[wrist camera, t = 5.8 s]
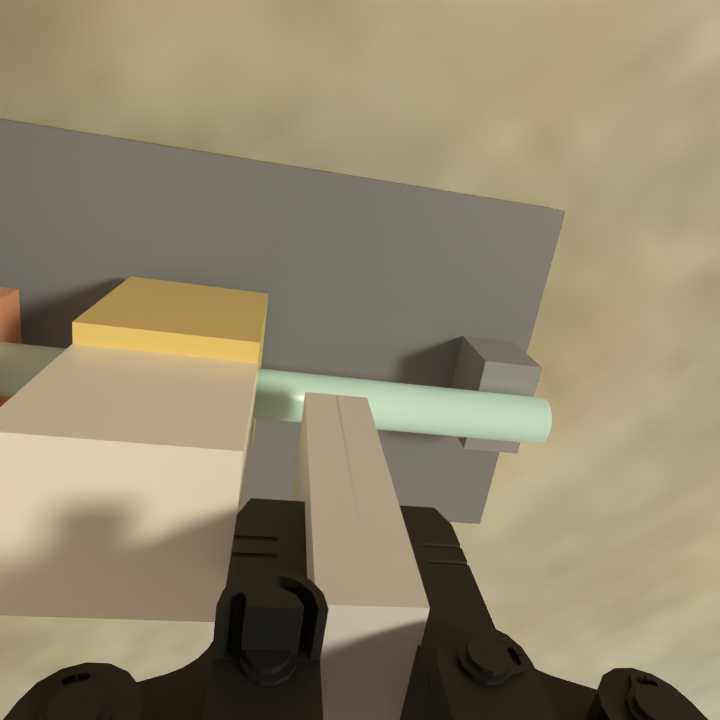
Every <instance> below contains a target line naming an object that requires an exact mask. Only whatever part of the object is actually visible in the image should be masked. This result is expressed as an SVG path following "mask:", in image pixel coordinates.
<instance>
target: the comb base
mask: <svg viewBox="0 0 720 720" xmlns="http://www.w3.org/2000/svg"><path fill="white" fill-rule="evenodd" d="M564 214H565V211H562V210H558V209H553V208H549V207H542V206H536V205H530V204H524V203H518V202H512V201H505V200H499V199H493V198H487V197H481V196H475V195H468V194H462V193H456V192H450V191H444V190H438V189H431V188H425V187H419V186H413V185H407V184H401V183H394V182H388V181H382V180H376V179H370V178H364V177H357V176H351V175H345V174H339V173H333V172H327V171H320V170H314V169H308V168H302V167H296V166H290V165H283V164H277V163H271V162H265V161H259V160H253V159H246V158H240V157H234V156H228V155H222V154H216V153H209V152H203V151H197V150H191V149H185V148H179V147H172V146H166V145H160V144H154V143H148V142H142V141H136V140H129V139H123V138H117V137H111V136H105V135H99V134H92V133H86V132H80V131H74V130H68V129H62V128H55V127H49V126H43V125H37V124H31V123H25V122H18V121H12V120H6V119H0V407H1V406H2V405H3V404H4V403H6V402H7V401H8V400H9V399H10V398H11V397H12V396H14V395H15V394H16V393H17V392H18V391H19V390H20V389H22V388H23V387H24V386H25V385H26V384H27V383H28V382H30V381H31V380H32V379H33V378H34V377H35V376H36V375H38V374H39V373H40V372H41V371H42V370H43V369H44V368H46V367H47V366H48V365H49V364H50V363H51V362H52V361H53V360H55V359H56V358H57V357H58V356H59V355H60V354H61V353H63V352H64V351H65V350H66V349H67V348H68V347H69V346H71V345H72V344H73V338H72V322H73V321H74V320H75V319H77V318H78V317H79V316H80V315H82V314H83V313H84V312H86V311H87V310H88V309H89V308H91V307H92V306H93V305H95V304H96V303H97V302H98V301H100V300H101V299H102V298H104V297H105V296H106V295H107V294H109V293H110V292H111V291H113V290H114V289H115V288H116V287H118V286H119V285H120V284H122V283H123V282H124V281H125V280H127V279H128V278H129V277H131V276H132V277H140V278H148V279H156V280H164V281H172V282H180V283H188V284H196V285H204V286H212V287H220V288H228V289H236V290H244V291H252V292H260V293H268V294H269V295H268V304H267V314H266V324H265V333H264V343H263V353H262V363H261V369H260V368H259V370H258V379H257V389H256V399H255V409H254V419H256V421H255V430H254V437H253V444H252V451H251V459H250V466H249V473H248V480H247V487H246V494H245V502H244V506H245V505H246V503H247V502H248V501H249V500H250V499H251V498H257V499H273V500H289V501H293V484H294V476H295V468H296V461H297V453H298V445H299V437H300V429H301V421H302V413H303V406H304V398H305V392H312V393H323V394H334V395H345V396H356V397H366V398H367V399H368V402H369V406H370V409H371V412H372V416H373V419H374V422H375V426H376V429H377V432H378V436H379V439H380V442H381V446H382V449H383V453H384V456H385V459H386V463H387V466H388V469H389V473H390V476H391V479H392V483H393V486H394V489H395V493H396V496H397V499H398V503H399V505H401V506H417V507H433V508H435V509H436V510H437V511H438V512H439V513H440V514H441V515H442V516H443V517H444V518H445V519H446V520H447V521H448V522H461V523H477V524H480V521H481V517H482V514H483V510H484V506H485V503H486V499H487V495H488V492H489V488H490V484H491V481H492V477H493V473H494V470H495V466H496V463H497V459H498V455H499V452H507V453H517V452H518V449H519V445H520V442H524V443H535V444H541V443H543V442H544V441H545V440H546V439H547V437H548V435H549V433H550V430H551V424H552V413H551V408H550V405H549V403H548V401H547V400H546V399H545V398H541V397H533V396H534V393H535V389H536V386H537V382H538V379H539V376H540V372H541V369H542V367H541V366H540V365H539V364H537V363H536V362H535V361H534V360H533V359H532V358H531V357H530V356H528V355H527V354H526V353H527V349H528V346H529V342H530V338H531V335H532V331H533V328H534V324H535V320H536V317H537V313H538V309H539V306H540V302H541V298H542V295H543V291H544V287H545V284H546V280H547V276H548V273H549V269H550V266H551V262H552V258H553V255H554V251H555V247H556V244H557V240H558V236H559V233H560V229H561V225H562V222H563V218H564Z"/></svg>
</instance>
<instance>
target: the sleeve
mask: <svg viewBox="0 0 720 720" xmlns="http://www.w3.org/2000/svg"><path fill="white" fill-rule="evenodd" d="M268 295H269V294H268V293H260V292H252V291H244V290H236V289H228V288H220V287H212V286H204V285H196V284H188V283H180V282H172V281H164V280H156V279H148V278H140V277H132V276H131V277H129V278H128V279H127V280H125V281H124V282H123V283H122V284H120V285H119V286H118V287H116V288H115V289H114V290H113V291H111V292H110V293H109V294H107V295H106V296H105V297H104V298H102V299H101V300H100V301H98V302H97V303H96V304H95V305H93V306H92V307H91V308H89V309H88V310H87V311H86V312H84V313H83V314H82V315H80V316H79V317H78V318H77V319H75V320H74V321H73V322H72V338H73V344H72V345H71V346H69V347H68V348H67V349H66V350H65V351H64V352H63V353H61V354H60V355H59V356H58V357H57V358H56V359H55V360H53V361H52V362H51V363H50V364H49V365H48V366H47V367H46V368H44V369H43V370H42V371H41V372H40V373H39V374H38V375H36V376H35V377H34V378H33V379H32V380H31V381H30V382H28V383H27V384H26V385H25V386H24V387H23V388H22V389H20V390H19V391H18V392H17V393H16V394H15V395H14V396H12V397H11V398H10V399H9V400H8V401H7V402H6V403H4V404H3V405H2V406H1V407H0V615H7V616H39V617H71V618H103V619H136V620H168V621H200V622H215V616H216V605H217V603H218V601H219V598H220V596H221V594H222V591H223V590H224V589H225V588H226V582H227V576H228V569H229V563H230V557H231V550H232V543H233V538H234V530H235V524H236V517H237V514H238V513H239V512H240V511H241V509H242V508H243V507H244V502H245V494H246V487H247V480H248V473H249V466H250V459H251V451H252V444H253V437H254V430H255V421H256V419H254V409H255V399H256V389H257V379H258V370H259V368H260V369H261V363H262V353H263V343H264V333H265V324H266V314H267V304H268Z"/></svg>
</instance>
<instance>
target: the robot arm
mask: <svg viewBox="0 0 720 720" xmlns="http://www.w3.org/2000/svg"><path fill="white" fill-rule="evenodd" d="M3 720H708V719H707V718H706V717H705V716H704V715H703V714H702V713H701V712H700V711H699V710H698V709H697V708H696V707H695V706H694V705H693V703H692V702H691V701H689V700H688V699H687V698H686V697H685V696H684V695H682V694H681V693H680V692H679V691H678V690H677V689H675V688H674V687H673V686H672V685H670V684H668V683H666V682H665V681H663V680H661V679H659V678H658V677H656V676H654V675H652V674H650V673H646V672H643V671H640V670H636V669H633V668H615V669H613V670H611V671H610V672H608V673H606V674H604V675H603V677H602V679H601V682H600V684H599V687H598V689H597V690H596V689H592V688H589V687H586V686H583V685H579V684H576V683H573V682H570V681H566V680H563V679H560V678H557V677H553V676H551V675H548V674H546V673H543V672H541V671H539V670H537V669H535V668H534V666H533V663H532V662H531V660H530V659H529V657H528V656H527V655H526V653H525V652H524V650H523V649H522V647H521V646H519V645H518V644H517V643H516V642H515V641H513V640H512V639H511V638H510V637H509V636H508V635H506V634H504V633H502V632H500V631H498V630H496V629H495V626H494V624H493V622H492V619H491V617H490V614H489V612H488V610H487V607H486V605H485V603H484V600H483V598H482V595H481V593H480V591H479V588H478V586H477V584H476V581H475V579H474V577H473V574H472V572H471V569H470V567H469V565H467V560H466V558H465V555H464V553H463V551H462V549H461V548H460V543H459V541H458V539H457V536H456V534H455V532H454V529H453V527H452V525H451V524H450V523H449V522H448V521H447V520H446V519H445V518H444V517H443V516H442V515H441V514H440V513H439V512H438V511H437V510H436V509H435V508H433V507H417V506H401V505H399V503H398V499H397V496H396V493H395V489H394V486H393V483H392V479H391V476H390V473H389V469H388V466H387V463H386V459H385V456H384V453H383V449H382V446H381V442H380V439H379V436H378V432H377V429H376V426H375V422H374V419H373V416H372V412H371V409H370V406H369V402H368V399H367V398H366V397H356V396H345V395H334V394H323V393H312V392H305V398H304V406H303V413H302V421H301V429H300V437H299V445H298V453H297V461H296V468H295V476H294V484H293V501H289V500H273V499H257V498H251V499H250V500H249V501H248V502H247V503H246V505H245V506H244V507H243V508H242V509H241V511H240V512H239V513H238V514H237V517H236V524H235V530H234V538H233V543H232V550H231V557H230V563H229V569H228V576H227V582H226V588H225V589H224V590H223V591H222V594H221V596H220V598H219V601H218V603H217V605H216V616H215V628H214V640H213V642H212V643H211V645H210V646H209V648H208V649H207V650H206V651H205V652H204V653H203V654H202V655H201V656H200V657H199V658H198V659H196V660H195V661H193V662H191V663H190V664H188V665H186V666H185V667H183V668H181V669H179V670H176V671H173V672H171V673H168V674H165V675H162V676H158V677H154V678H151V679H147V680H144V681H140V682H136V681H135V680H134V679H133V677H132V676H131V675H130V673H129V672H127V671H125V670H123V669H121V668H119V667H116V666H114V665H112V664H107V663H83V664H79V665H75V666H71V667H67V668H63V669H61V670H59V671H57V672H55V673H54V674H52V675H50V676H48V677H46V678H45V679H43V680H41V681H39V682H37V683H36V684H35V685H34V686H33V687H32V688H31V689H30V690H29V691H28V692H27V693H26V694H25V695H24V696H23V697H22V698H21V699H20V700H19V701H18V702H17V703H16V704H15V705H14V707H13V708H12V709H11V710H10V712H9V713H8V714H7V716H6V717H5V718H4V719H3Z"/></svg>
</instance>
